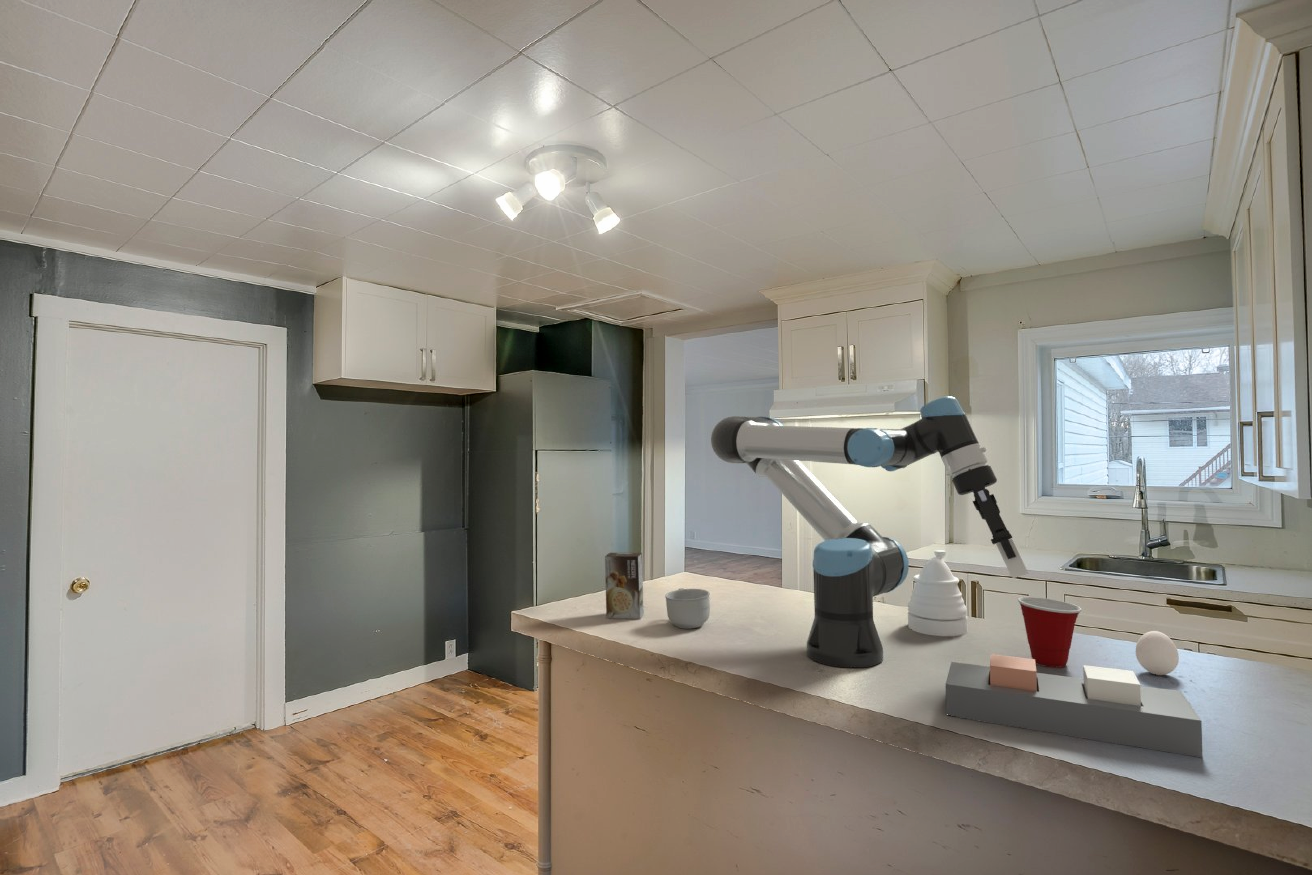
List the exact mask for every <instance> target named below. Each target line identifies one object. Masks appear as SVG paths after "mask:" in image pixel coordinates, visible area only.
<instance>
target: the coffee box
mask: <svg viewBox="0 0 1312 875" xmlns="http://www.w3.org/2000/svg"><path fill="white" fill-rule="evenodd" d="M604 573H605V574H604V575H605V576H604V577H605V578H604V579H605V608H606V610H605V611H606V612H605V613H606V617H605V618H606V619H617V620H618V619H620V620H621V619H623V620H624V619H625V620H626V619H628V620H629V619H630V620H631V619H633V620H641V619H642V617H643V616H644V614H645V609H644V607H645V606H644V583H643V582H644V578H643V574H644V571H643V552H609V553H607V554H606V555H605V556H604Z"/></svg>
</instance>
